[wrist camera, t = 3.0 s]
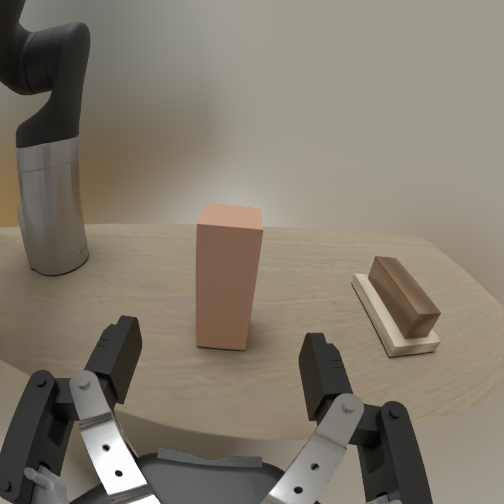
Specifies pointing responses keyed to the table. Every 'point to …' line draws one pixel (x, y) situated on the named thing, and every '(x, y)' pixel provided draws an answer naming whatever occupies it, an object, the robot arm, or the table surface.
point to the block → (226, 274)
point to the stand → (398, 308)
